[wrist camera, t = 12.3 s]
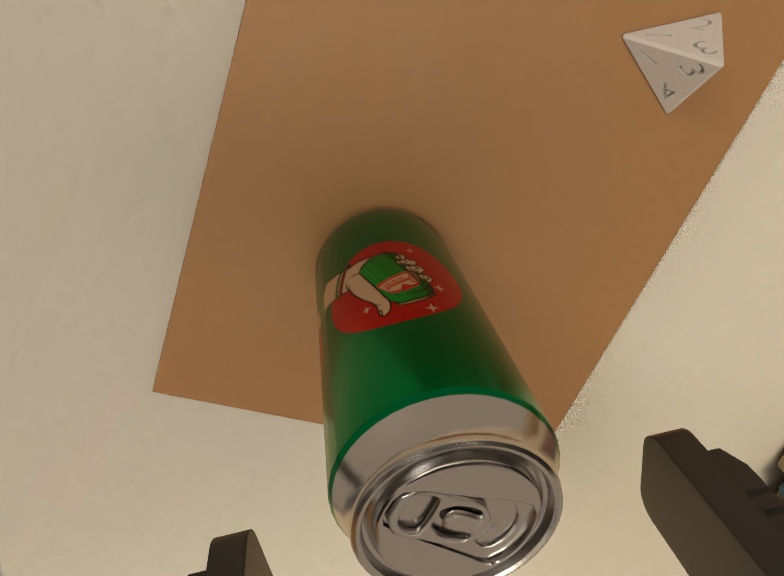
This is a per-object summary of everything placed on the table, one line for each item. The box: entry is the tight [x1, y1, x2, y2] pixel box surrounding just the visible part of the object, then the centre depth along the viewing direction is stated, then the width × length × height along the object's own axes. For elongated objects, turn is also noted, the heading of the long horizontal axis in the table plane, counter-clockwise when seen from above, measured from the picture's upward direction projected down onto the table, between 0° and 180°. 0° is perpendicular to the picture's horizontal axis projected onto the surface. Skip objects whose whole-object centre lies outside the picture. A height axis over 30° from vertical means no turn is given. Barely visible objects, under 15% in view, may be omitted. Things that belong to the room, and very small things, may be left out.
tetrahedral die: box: [623, 13, 724, 113], centre depth 19 cm, size 4×3×3 cm
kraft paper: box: [153, 0, 784, 433], centre depth 21 cm, size 18×22×1 cm
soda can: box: [315, 209, 563, 576], centre depth 16 cm, size 5×5×12 cm
